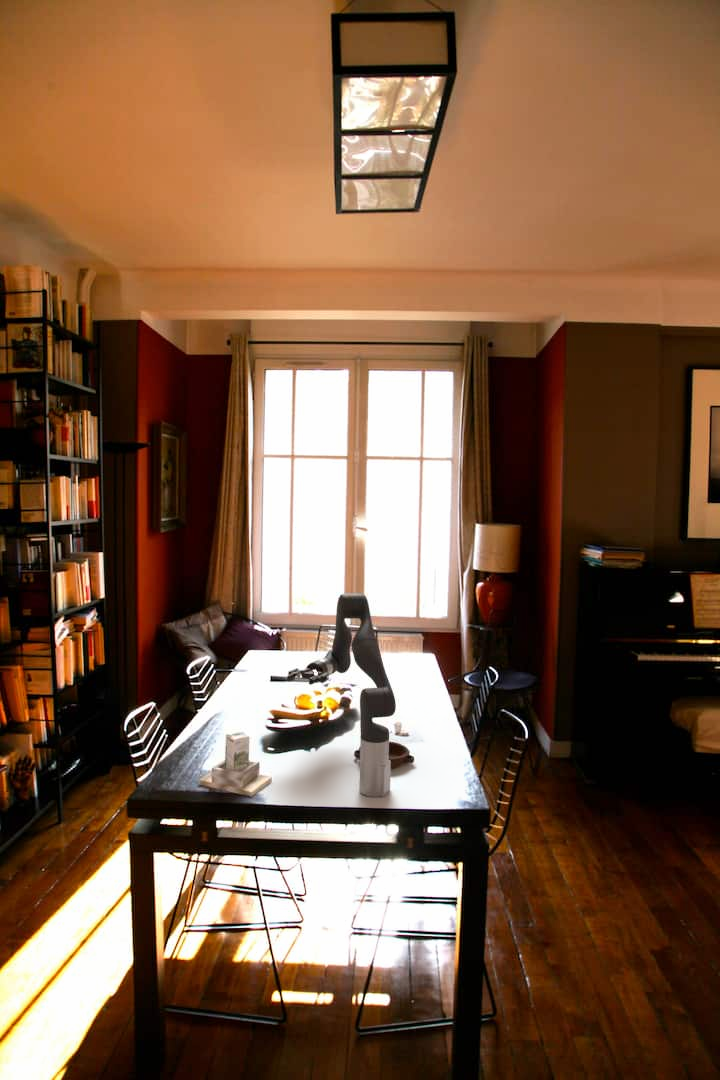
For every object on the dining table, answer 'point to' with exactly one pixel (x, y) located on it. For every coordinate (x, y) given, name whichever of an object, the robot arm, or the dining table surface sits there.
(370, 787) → the robot arm
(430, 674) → the dining table surface
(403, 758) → the dish
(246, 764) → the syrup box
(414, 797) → the dining table surface
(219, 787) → the collar board
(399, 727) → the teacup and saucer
